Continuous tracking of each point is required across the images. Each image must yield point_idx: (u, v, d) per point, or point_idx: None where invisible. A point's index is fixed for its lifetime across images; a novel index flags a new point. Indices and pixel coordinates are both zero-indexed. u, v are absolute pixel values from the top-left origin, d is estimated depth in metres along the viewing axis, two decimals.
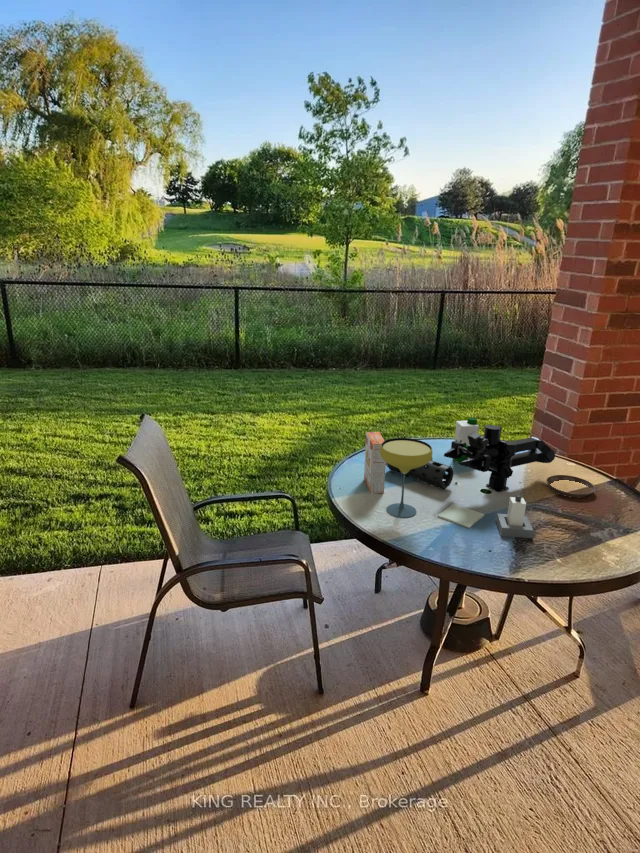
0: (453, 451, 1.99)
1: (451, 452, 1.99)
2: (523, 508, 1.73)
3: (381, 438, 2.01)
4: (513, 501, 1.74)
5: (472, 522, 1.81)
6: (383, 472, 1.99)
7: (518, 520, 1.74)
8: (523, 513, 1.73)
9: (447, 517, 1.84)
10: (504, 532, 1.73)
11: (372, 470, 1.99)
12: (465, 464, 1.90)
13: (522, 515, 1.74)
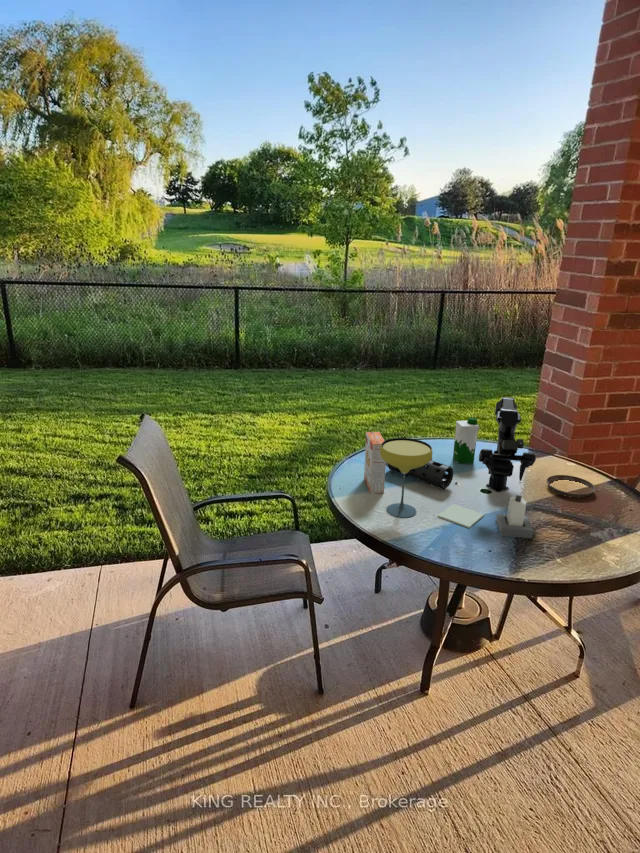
0: None
1: None
2: (523, 508, 1.73)
3: (381, 438, 2.01)
4: (513, 501, 1.74)
5: (472, 522, 1.81)
6: (383, 472, 1.99)
7: (518, 520, 1.74)
8: (523, 513, 1.73)
9: (447, 517, 1.84)
10: (504, 532, 1.73)
11: (372, 470, 1.99)
12: None
13: (522, 515, 1.74)
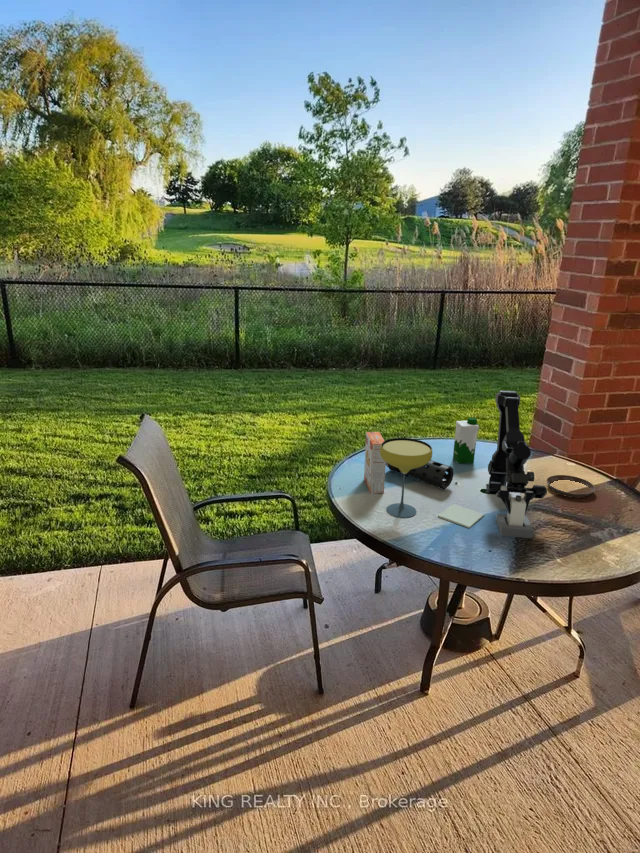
0: None
1: None
2: (523, 508, 1.73)
3: (381, 438, 2.01)
4: (513, 501, 1.74)
5: (472, 522, 1.81)
6: (383, 472, 1.99)
7: (518, 520, 1.74)
8: (523, 513, 1.73)
9: (447, 517, 1.84)
10: (504, 532, 1.73)
11: (372, 470, 1.99)
12: None
13: (522, 515, 1.74)
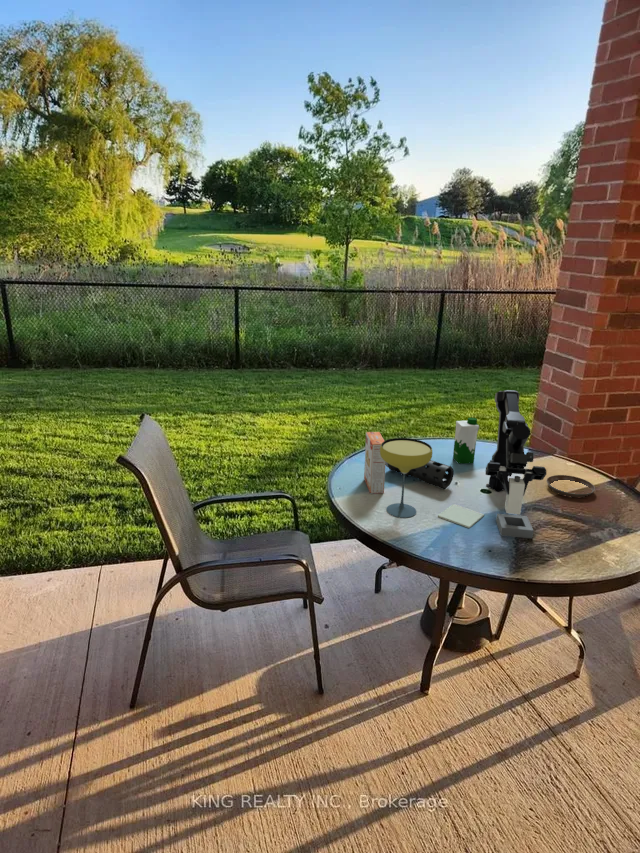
0: None
1: None
2: (522, 489, 1.71)
3: (381, 438, 2.01)
4: (512, 481, 1.72)
5: (472, 522, 1.81)
6: (383, 472, 1.99)
7: (517, 501, 1.72)
8: (522, 494, 1.71)
9: (447, 517, 1.84)
10: (504, 532, 1.73)
11: (372, 470, 1.99)
12: (525, 490, 1.73)
13: (521, 496, 1.72)
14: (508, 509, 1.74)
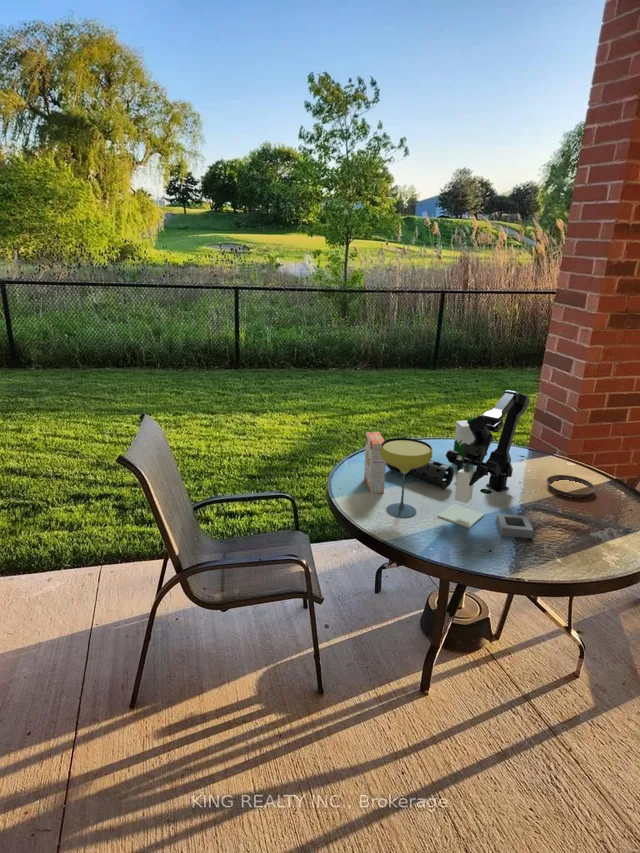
0: None
1: None
2: (467, 478, 1.79)
3: (381, 438, 2.01)
4: (460, 470, 1.81)
5: (472, 522, 1.81)
6: (383, 472, 1.99)
7: (463, 489, 1.81)
8: (467, 483, 1.79)
9: (447, 517, 1.84)
10: (504, 532, 1.73)
11: (372, 470, 1.99)
12: (473, 482, 1.80)
13: (466, 485, 1.79)
14: (456, 496, 1.83)
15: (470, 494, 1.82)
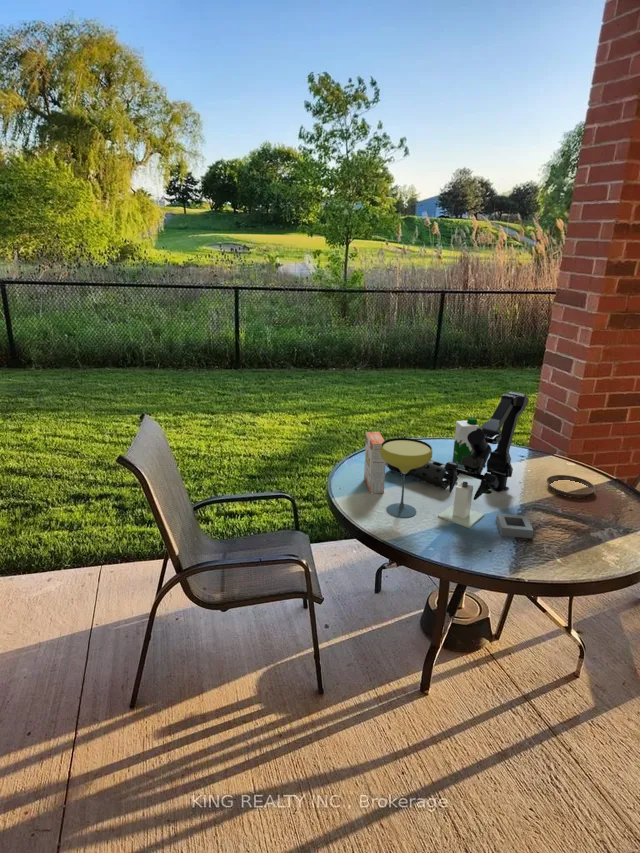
0: (453, 479, 1.86)
1: (453, 482, 1.86)
2: (465, 494, 1.81)
3: (381, 438, 2.01)
4: (459, 486, 1.83)
5: (472, 522, 1.81)
6: (383, 472, 1.99)
7: (461, 505, 1.83)
8: (465, 499, 1.81)
9: (447, 517, 1.84)
10: (504, 532, 1.73)
11: (372, 470, 1.99)
12: (478, 495, 1.80)
13: (464, 501, 1.81)
14: (454, 511, 1.85)
15: (468, 509, 1.84)
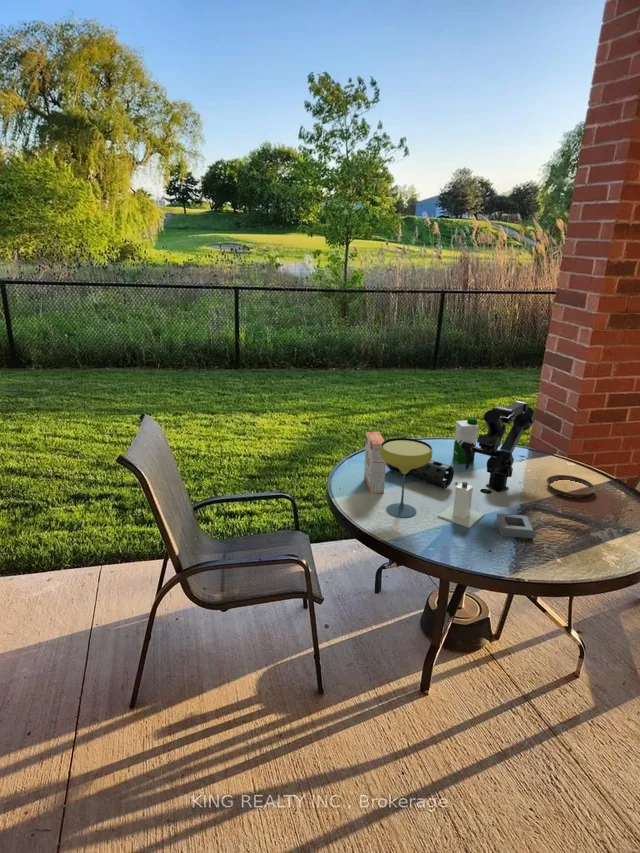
0: (470, 457, 1.93)
1: (469, 460, 1.93)
2: (465, 494, 1.80)
3: (381, 438, 2.01)
4: (458, 486, 1.83)
5: (472, 522, 1.81)
6: (383, 472, 1.99)
7: (461, 505, 1.82)
8: (465, 499, 1.81)
9: (447, 517, 1.84)
10: (504, 532, 1.73)
11: (372, 470, 1.99)
12: (494, 472, 1.87)
13: (464, 501, 1.81)
14: (454, 511, 1.85)
15: (468, 510, 1.84)
